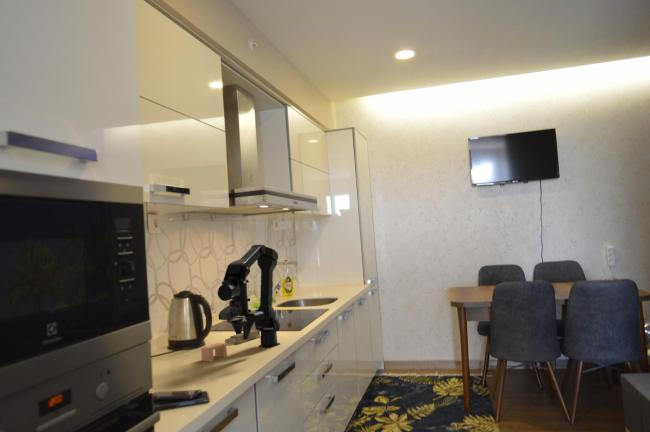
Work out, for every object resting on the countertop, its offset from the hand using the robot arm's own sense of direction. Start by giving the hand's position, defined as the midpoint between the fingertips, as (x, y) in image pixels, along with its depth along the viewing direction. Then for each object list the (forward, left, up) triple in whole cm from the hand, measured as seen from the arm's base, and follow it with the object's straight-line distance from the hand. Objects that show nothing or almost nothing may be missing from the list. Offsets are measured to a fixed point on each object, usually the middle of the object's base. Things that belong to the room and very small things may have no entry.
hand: (242, 339), depth 174 cm
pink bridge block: (+3, -13, -8) cm, 15 cm away
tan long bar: (0, 0, -1) cm, 1 cm away
